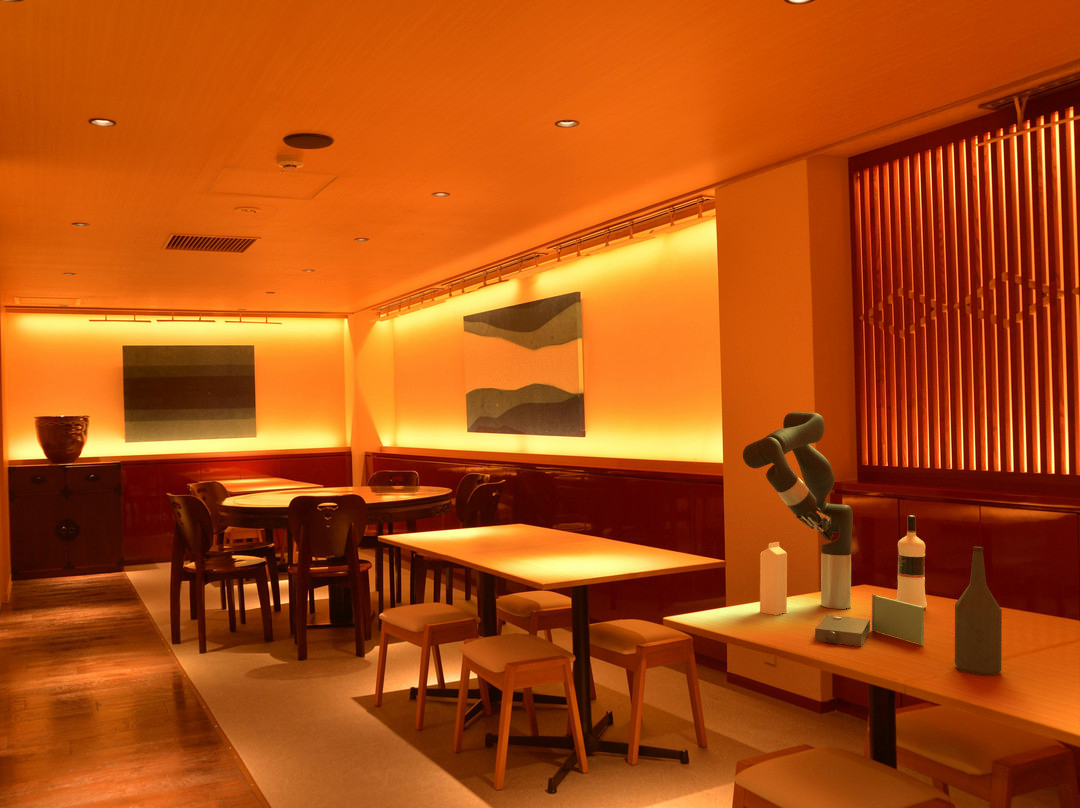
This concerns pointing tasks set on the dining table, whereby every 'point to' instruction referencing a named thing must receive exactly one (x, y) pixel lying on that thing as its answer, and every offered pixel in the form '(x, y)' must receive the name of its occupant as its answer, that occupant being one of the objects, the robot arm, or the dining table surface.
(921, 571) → the vodka
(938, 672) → the dining table surface
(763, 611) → the milk
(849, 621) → the box with round knob
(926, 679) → the dining table surface
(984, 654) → the bottle
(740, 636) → the dining table surface
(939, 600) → the dining table surface
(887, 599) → the door
